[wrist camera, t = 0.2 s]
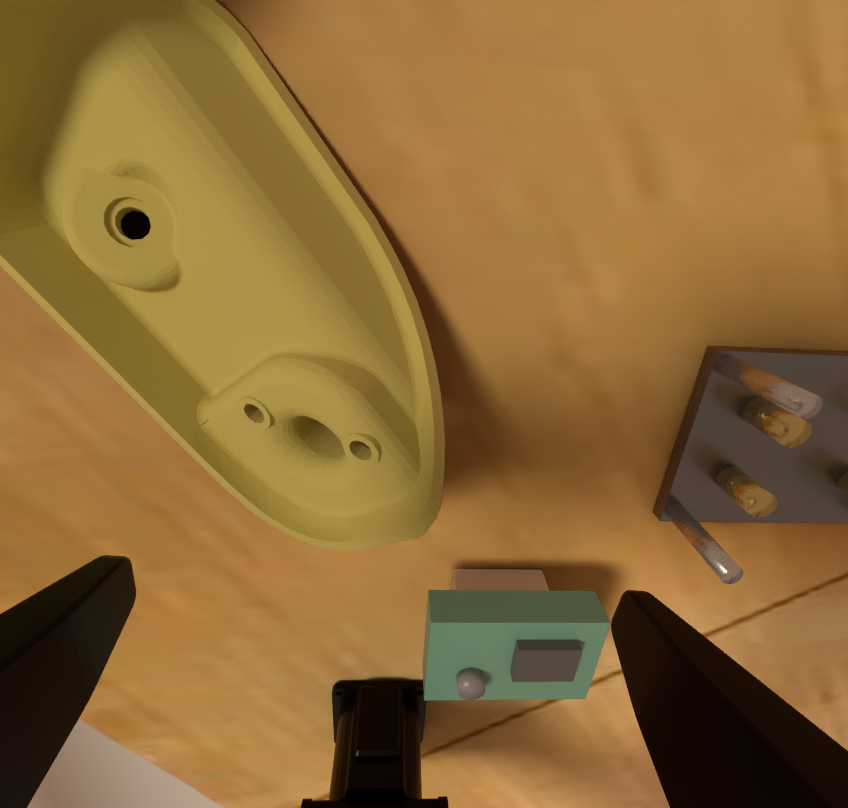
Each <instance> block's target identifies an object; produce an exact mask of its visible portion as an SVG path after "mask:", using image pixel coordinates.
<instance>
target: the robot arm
mask: <svg viewBox="0 0 848 808" xmlns="http://www.w3.org/2000/svg"><path fill="white" fill-rule="evenodd" d="M135 598H136V587H135V581H134V575H133V569H132V564H131V561H130V559H129V558H128V557H125V556H110V555H104V556H100V557H98V558H96V559H94V560H93V561H91V562H89V563H88V564H86V565H84V566H82V567H81V568H79V569H77V570H75V571H74V572H72V573H70V574H69V575H67V576H65V577H63V578H62V579H60V580H58V581H56V582H55V583H53V584H51V585H50V586H48V587H46V588H44V589H43V590H41V591H39V592H38V593H36V594H34V595H32V596H31V597H29V598H27V599H25V600H24V601H22V602H20V603H19V604H17V605H15V606H13V607H12V608H10V609H8V610H6V611H5V612H3V613H1V614H0V808H27V806H28V805H29V803H30V801H31V800H32V798H33V796H34V794H35V793H36V791H37V789H38V787H39V786H40V784H41V782H42V781H43V779H44V777H45V775H46V774H47V772H48V770H49V769H50V767H51V765H52V763H53V762H54V760H55V758H56V757H57V755H58V753H59V751H60V750H61V748H62V746H63V744H64V743H65V741H66V739H67V738H68V736H69V734H70V733H71V731H72V729H73V727H74V726H75V724H76V722H77V721H78V719H79V717H80V715H81V714H82V712H83V710H84V708H85V706H86V705H87V703H88V701H89V699H90V697H91V695H92V693H93V691H94V689H95V687H96V685H97V683H98V681H99V679H100V677H101V674H102V672H103V670H104V668H105V666H106V664H107V662H108V659H109V657H110V655H111V653H112V651H113V649H114V646H115V644H116V642H117V640H118V638H119V636H120V634H121V631H122V629H123V627H124V625H125V623H126V621H127V618H128V616H129V614H130V612H131V610H132V608H133V605H134V602H135ZM611 630H612V635H613V639H614V642H615V646H616V649H617V653H618V656H619V660H620V664H621V667H622V671H623V674H624V678H625V681H626V685H627V688H628V692H629V695H630V699H631V702H632V706H633V709H634V712H635V715H636V719H637V721H638V724H639V727H640V730H641V733H642V735H643V738H644V741H645V743H646V746H647V748H648V751H649V754H650V756H651V759H652V761H653V764H654V767H655V769H656V772H657V775H658V777H659V780H660V782H661V785H662V788H663V790H664V793H665V795H666V798H667V801H668V803H669V806H670V808H848V751H847V750H846V749H845V748H843V747H842V746H841V745H840V744H838V743H837V742H836V741H835V740H833V739H832V738H831V737H830V736H828V735H827V734H826V733H824V732H823V731H822V730H821V729H819V728H818V727H817V726H816V725H814V724H813V723H812V722H811V721H809V720H808V719H807V718H806V717H804V716H803V715H802V714H801V713H799V712H798V711H797V710H796V709H794V708H793V707H792V706H791V705H789V704H788V703H787V702H786V701H784V700H783V699H782V698H781V697H779V696H778V695H777V694H776V693H774V692H773V691H772V690H771V689H769V688H768V687H767V686H766V685H764V684H763V683H762V682H761V681H759V680H758V679H757V678H756V677H754V676H753V675H752V674H751V673H749V672H748V671H747V670H746V669H744V668H743V667H742V666H741V665H739V664H738V663H737V662H736V661H734V660H733V659H732V658H731V657H729V656H728V655H727V654H726V653H724V652H723V651H722V650H721V649H719V648H718V647H717V646H715V645H714V644H713V643H712V642H710V641H709V640H708V639H707V638H705V637H704V636H703V635H702V634H700V633H699V632H698V631H697V630H695V629H694V628H693V627H692V626H690V625H689V624H688V623H687V622H685V621H684V620H683V619H682V618H680V617H679V616H678V615H677V614H675V613H674V612H673V611H672V610H670V609H669V608H668V607H667V606H665V605H664V604H663V603H662V602H660V601H659V600H658V599H657V598H655V597H654V596H653V595H651V594H650V593H648V592H645V591H634V590H628V591H626V592H624V593H623V595H622V597H621V599H620V602H619V604H618V606H617V609H616V611H615V613H614V616H613V618H612V623H611ZM332 704H333V725H334V742H335V743H336V745H335V754H334V762H333V770H332V778H331V786H330V795H329V800H321V801H312V799H303V801H302V805H301V808H448V799H447V797H438V799H422V787H421V757H420V743H421V742H422V740H423V731H424V720H425V709H426V701H424V689H423V683H422V682H381V683H337V684H335V685H334V686H333V690H332Z"/></svg>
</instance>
